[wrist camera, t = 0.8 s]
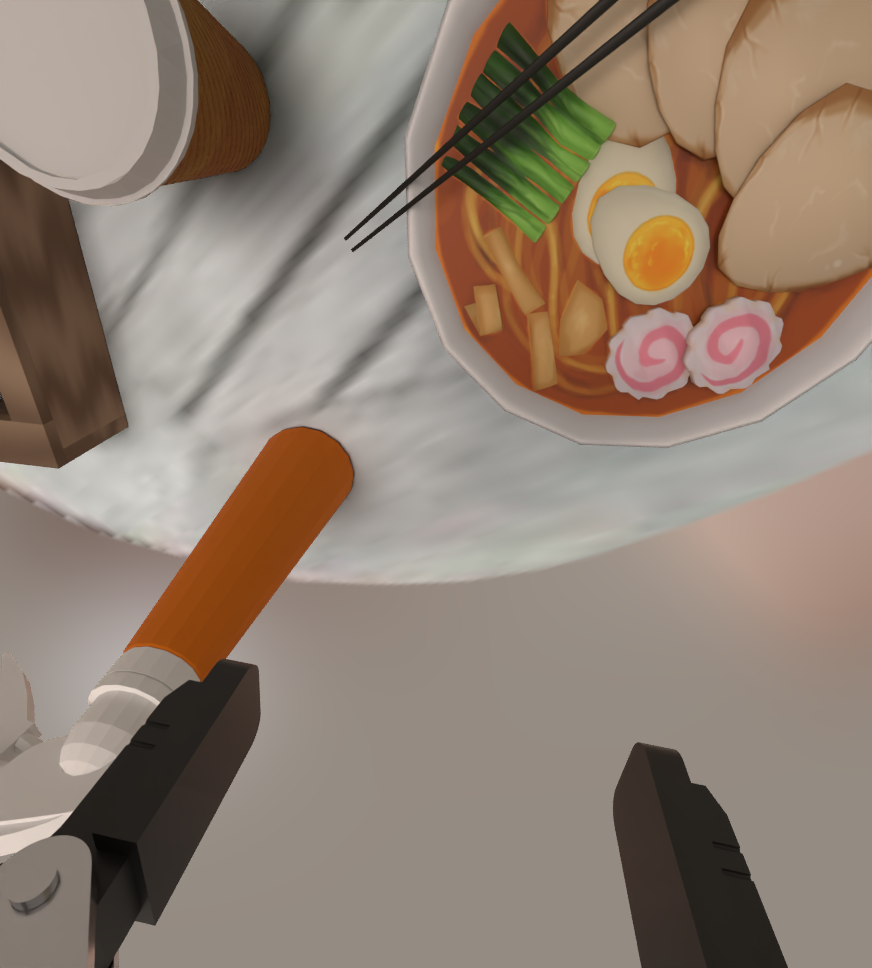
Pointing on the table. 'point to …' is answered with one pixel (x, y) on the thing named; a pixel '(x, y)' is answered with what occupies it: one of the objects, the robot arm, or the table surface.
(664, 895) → the robot arm
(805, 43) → the ramen bowl
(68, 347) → the slotted box
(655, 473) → the table surface
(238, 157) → the disposable coffee cup
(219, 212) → the table surface
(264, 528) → the spray bottle
